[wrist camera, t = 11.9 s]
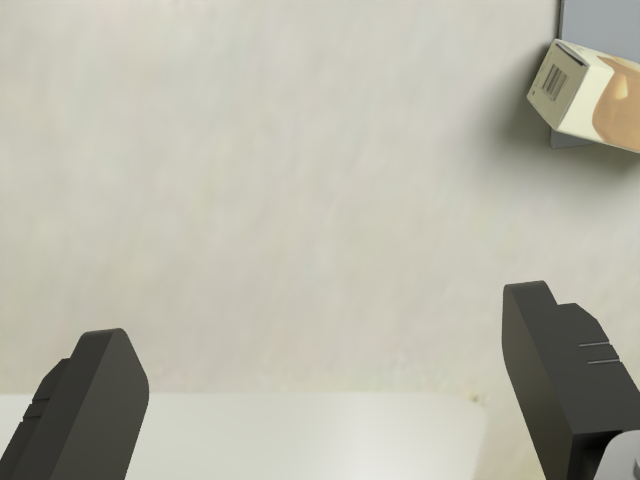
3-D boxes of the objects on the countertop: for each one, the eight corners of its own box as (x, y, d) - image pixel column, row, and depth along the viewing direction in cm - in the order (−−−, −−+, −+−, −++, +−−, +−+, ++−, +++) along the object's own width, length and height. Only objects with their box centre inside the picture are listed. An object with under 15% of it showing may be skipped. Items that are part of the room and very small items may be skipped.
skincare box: (551, 35, 37) (712, 80, 39) (522, 97, 40) (674, 138, 42) (593, 65, 32) (776, 116, 34) (556, 135, 34) (729, 179, 36)
